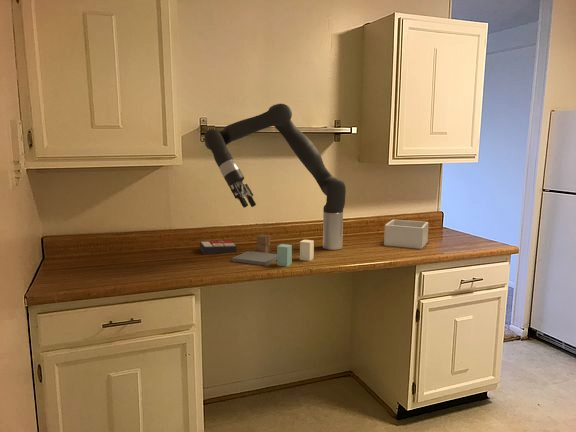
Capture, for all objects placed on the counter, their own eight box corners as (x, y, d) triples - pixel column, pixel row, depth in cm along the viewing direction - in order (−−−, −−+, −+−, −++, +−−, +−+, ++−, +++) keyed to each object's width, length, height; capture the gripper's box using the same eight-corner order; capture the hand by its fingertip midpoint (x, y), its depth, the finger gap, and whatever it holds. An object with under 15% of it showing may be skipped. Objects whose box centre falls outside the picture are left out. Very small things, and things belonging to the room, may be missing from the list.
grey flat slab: (248, 254, 211) (248, 250, 211) (280, 257, 204) (280, 254, 204) (232, 261, 198) (232, 257, 198) (266, 265, 192) (266, 262, 192)
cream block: (303, 257, 206) (304, 239, 204) (313, 258, 204) (313, 240, 202) (299, 259, 202) (300, 241, 200) (309, 261, 200) (309, 242, 198)
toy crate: (392, 238, 246) (392, 219, 244) (427, 241, 238) (428, 222, 237) (384, 245, 230) (384, 225, 228) (421, 248, 222) (422, 228, 221)
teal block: (281, 262, 197) (281, 243, 196) (291, 263, 195) (291, 245, 194) (277, 265, 193) (277, 246, 191) (287, 266, 191) (287, 247, 190)
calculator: (236, 244, 214) (203, 245, 209) (236, 254, 215) (203, 255, 210) (231, 240, 225) (199, 240, 219) (231, 248, 225) (199, 249, 220)
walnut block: (261, 251, 216) (261, 234, 215) (270, 252, 214) (270, 235, 213) (256, 253, 212) (256, 236, 211) (265, 254, 210) (265, 237, 209)
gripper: (231, 167, 189) (250, 202, 187) (245, 169, 203) (263, 201, 201) (216, 177, 191) (236, 211, 190) (231, 178, 205) (249, 210, 203)
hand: (250, 206), depth 195 cm, fingers open, 8 cm apart
